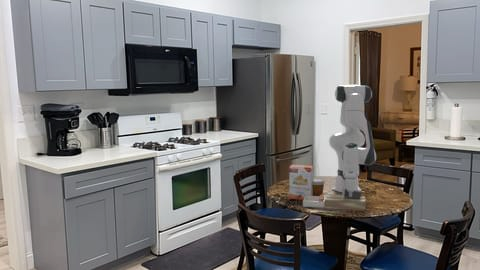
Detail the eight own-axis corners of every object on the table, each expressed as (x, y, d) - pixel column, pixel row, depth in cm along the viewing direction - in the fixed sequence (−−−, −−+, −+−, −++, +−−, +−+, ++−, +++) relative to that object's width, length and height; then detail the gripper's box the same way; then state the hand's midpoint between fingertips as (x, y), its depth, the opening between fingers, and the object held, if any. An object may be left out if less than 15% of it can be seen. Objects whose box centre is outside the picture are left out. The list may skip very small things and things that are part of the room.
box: (305, 200, 245) (305, 195, 244) (325, 202, 242) (325, 196, 241) (303, 206, 233) (303, 200, 233) (324, 208, 230) (324, 202, 230)
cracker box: (289, 199, 249) (288, 166, 247) (292, 196, 255) (291, 164, 252) (311, 201, 243) (311, 167, 241) (313, 198, 249) (313, 165, 246)
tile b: (323, 204, 236) (319, 204, 236) (323, 196, 235) (319, 196, 236) (322, 206, 231) (318, 206, 232) (322, 198, 231) (318, 198, 231)
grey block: (342, 192, 238) (343, 186, 238) (360, 195, 236) (361, 189, 235) (341, 198, 227) (342, 191, 226) (360, 201, 224) (361, 194, 223)
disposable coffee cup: (316, 201, 242) (316, 182, 241) (305, 198, 250) (305, 179, 249) (327, 199, 247) (328, 180, 246) (317, 195, 255) (317, 177, 254)
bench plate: (326, 202, 241) (326, 194, 241) (364, 204, 235) (364, 196, 235) (325, 208, 230) (325, 199, 229) (365, 210, 224) (365, 202, 223)
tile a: (324, 201, 241) (320, 201, 241) (324, 194, 240) (320, 194, 241) (323, 203, 236) (319, 203, 237) (323, 196, 236) (320, 196, 236)
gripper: (345, 168, 240) (345, 190, 242) (344, 175, 221) (344, 200, 222) (356, 168, 238) (356, 191, 240) (356, 176, 219) (356, 200, 221)
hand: (350, 195), depth 231 cm, fingers closed on grey block, 2 cm apart
